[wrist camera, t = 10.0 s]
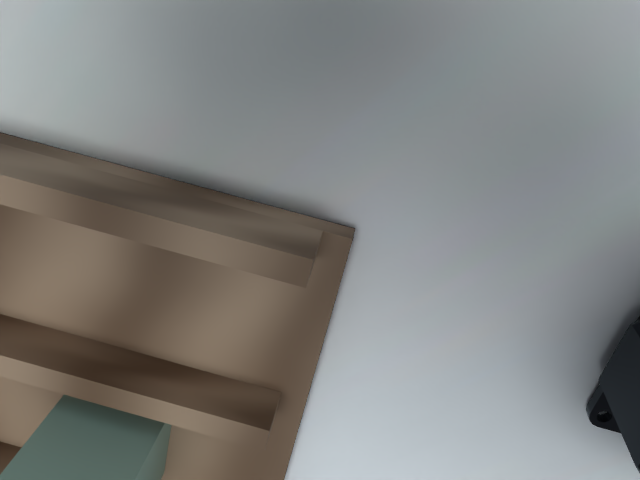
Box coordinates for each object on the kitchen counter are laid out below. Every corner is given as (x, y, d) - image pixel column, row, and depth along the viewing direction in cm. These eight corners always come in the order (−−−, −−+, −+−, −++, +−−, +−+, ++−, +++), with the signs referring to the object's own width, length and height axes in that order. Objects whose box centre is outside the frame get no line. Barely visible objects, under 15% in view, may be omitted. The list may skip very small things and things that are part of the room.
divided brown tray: (355, 228, 19) (346, 269, 17) (272, 518, 26) (257, 577, 24) (-44, 120, 20) (-109, 144, 17) (-23, 434, 27) (-68, 483, 24)
